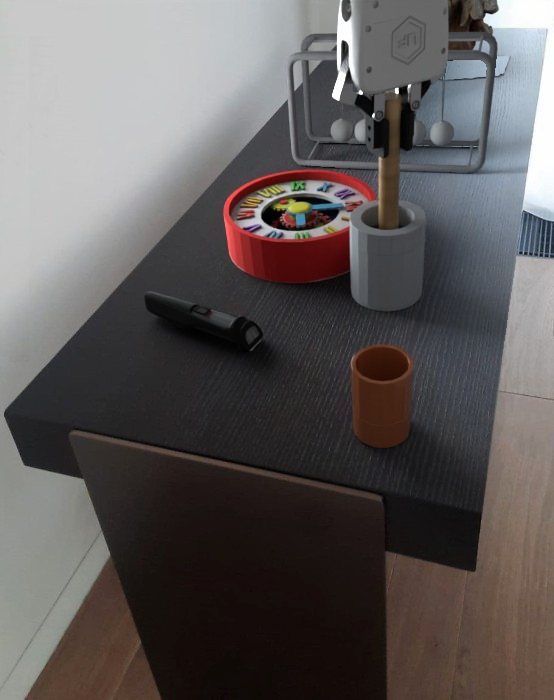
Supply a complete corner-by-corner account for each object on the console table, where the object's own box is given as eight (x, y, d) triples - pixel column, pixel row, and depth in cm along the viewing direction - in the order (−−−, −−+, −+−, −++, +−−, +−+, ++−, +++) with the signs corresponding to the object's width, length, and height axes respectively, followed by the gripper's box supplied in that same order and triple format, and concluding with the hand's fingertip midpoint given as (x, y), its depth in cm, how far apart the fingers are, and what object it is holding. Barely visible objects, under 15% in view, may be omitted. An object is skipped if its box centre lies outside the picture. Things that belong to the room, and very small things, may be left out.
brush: (407, 262, 81) (412, 96, 69) (383, 270, 80) (385, 104, 68) (391, 250, 83) (394, 88, 72) (368, 258, 82) (367, 95, 71)
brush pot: (421, 434, 66) (425, 369, 61) (372, 456, 64) (372, 391, 59) (389, 400, 70) (390, 337, 65) (342, 420, 68) (340, 357, 63)
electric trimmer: (161, 303, 87) (156, 282, 85) (265, 336, 80) (262, 313, 78) (141, 320, 84) (135, 298, 83) (247, 355, 77) (243, 332, 75)
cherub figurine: (513, 54, 148) (525, -41, 137) (500, 83, 136) (511, -20, 125) (430, 51, 155) (434, -40, 143) (409, 79, 142) (413, -19, 131)
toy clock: (226, 176, 100) (367, 163, 99) (231, 213, 103) (367, 201, 103) (219, 248, 84) (386, 234, 83) (225, 289, 88) (386, 276, 87)
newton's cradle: (487, 146, 114) (499, 30, 103) (483, 175, 106) (496, 52, 95) (307, 141, 122) (300, 32, 111) (291, 167, 114) (283, 53, 103)
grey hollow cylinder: (436, 296, 83) (441, 221, 77) (375, 319, 80) (375, 243, 74) (396, 265, 89) (397, 192, 83) (338, 285, 86) (335, 212, 80)
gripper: (334, -28, 57) (341, 183, 68) (493, -60, 62) (474, 142, 73) (292, -40, 62) (305, 158, 74) (440, -68, 67) (431, 121, 78)
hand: (389, 148), depth 73 cm, fingers closed on brush, 2 cm apart
